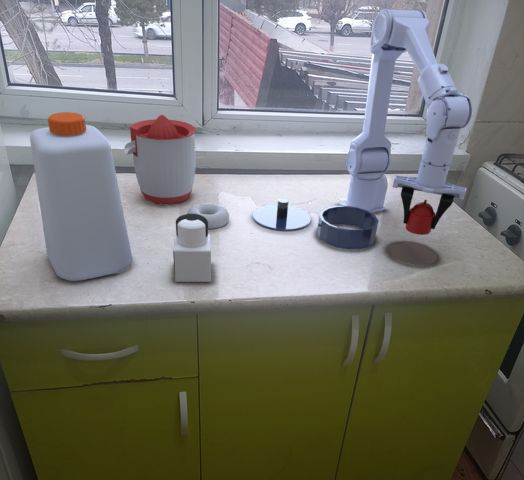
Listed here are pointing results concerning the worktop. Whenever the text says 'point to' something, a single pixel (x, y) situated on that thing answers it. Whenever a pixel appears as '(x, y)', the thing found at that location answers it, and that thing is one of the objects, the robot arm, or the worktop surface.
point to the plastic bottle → (79, 199)
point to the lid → (281, 217)
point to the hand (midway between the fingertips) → (418, 224)
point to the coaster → (412, 253)
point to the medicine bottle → (192, 249)
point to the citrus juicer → (163, 159)
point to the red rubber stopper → (420, 218)
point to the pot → (347, 236)
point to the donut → (211, 214)
